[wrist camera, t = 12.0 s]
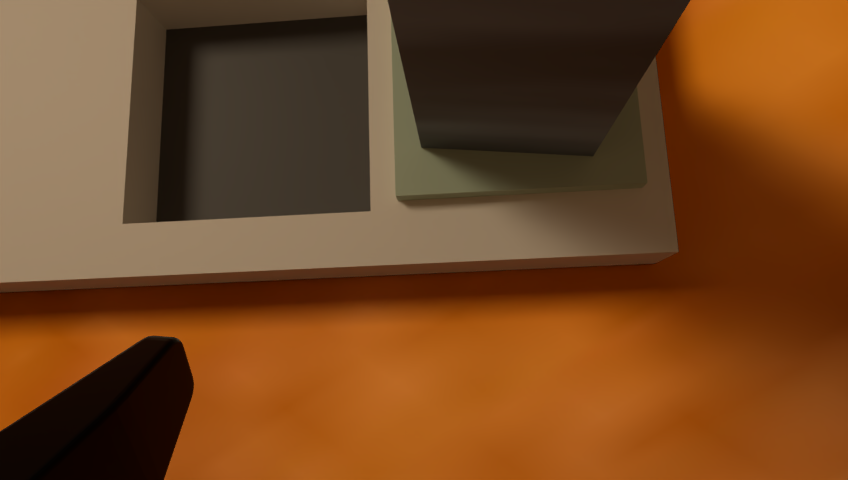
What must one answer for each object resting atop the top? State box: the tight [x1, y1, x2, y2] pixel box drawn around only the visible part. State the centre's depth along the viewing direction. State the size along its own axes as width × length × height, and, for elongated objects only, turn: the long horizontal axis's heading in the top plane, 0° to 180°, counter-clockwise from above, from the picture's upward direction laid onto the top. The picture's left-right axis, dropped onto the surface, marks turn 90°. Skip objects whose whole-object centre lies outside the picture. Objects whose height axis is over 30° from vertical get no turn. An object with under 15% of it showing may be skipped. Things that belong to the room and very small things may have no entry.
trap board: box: [0, 0, 679, 293], centre depth 18 cm, size 31×10×2 cm, turn 92°
